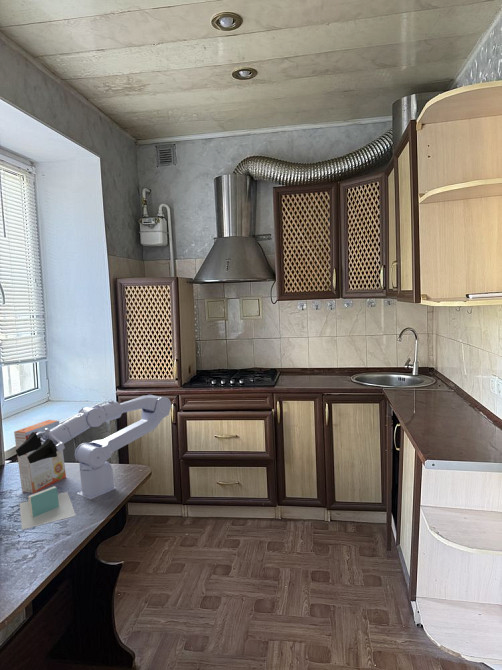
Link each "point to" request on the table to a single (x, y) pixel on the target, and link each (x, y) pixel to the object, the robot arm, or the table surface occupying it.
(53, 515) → the mat
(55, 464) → the cracker box
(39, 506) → the tile
